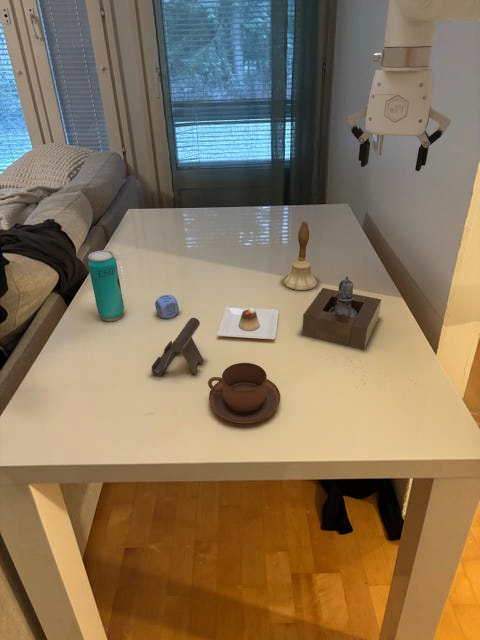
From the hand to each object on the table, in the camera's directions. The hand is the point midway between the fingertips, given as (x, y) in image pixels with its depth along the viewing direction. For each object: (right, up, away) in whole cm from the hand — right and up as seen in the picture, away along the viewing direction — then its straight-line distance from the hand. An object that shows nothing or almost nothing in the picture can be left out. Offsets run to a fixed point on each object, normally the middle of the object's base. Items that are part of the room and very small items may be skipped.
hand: (390, 167), depth 85 cm
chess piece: (-6, -30, +15) cm, 34 cm away
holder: (-6, -29, +15) cm, 33 cm away
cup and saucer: (-27, -42, -6) cm, 50 cm away
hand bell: (-12, -19, +33) cm, 40 cm away
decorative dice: (-44, -27, +21) cm, 55 cm away
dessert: (-26, -29, +16) cm, 42 cm away
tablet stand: (-39, -37, +4) cm, 54 cm away
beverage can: (-56, -27, +20) cm, 66 cm away
